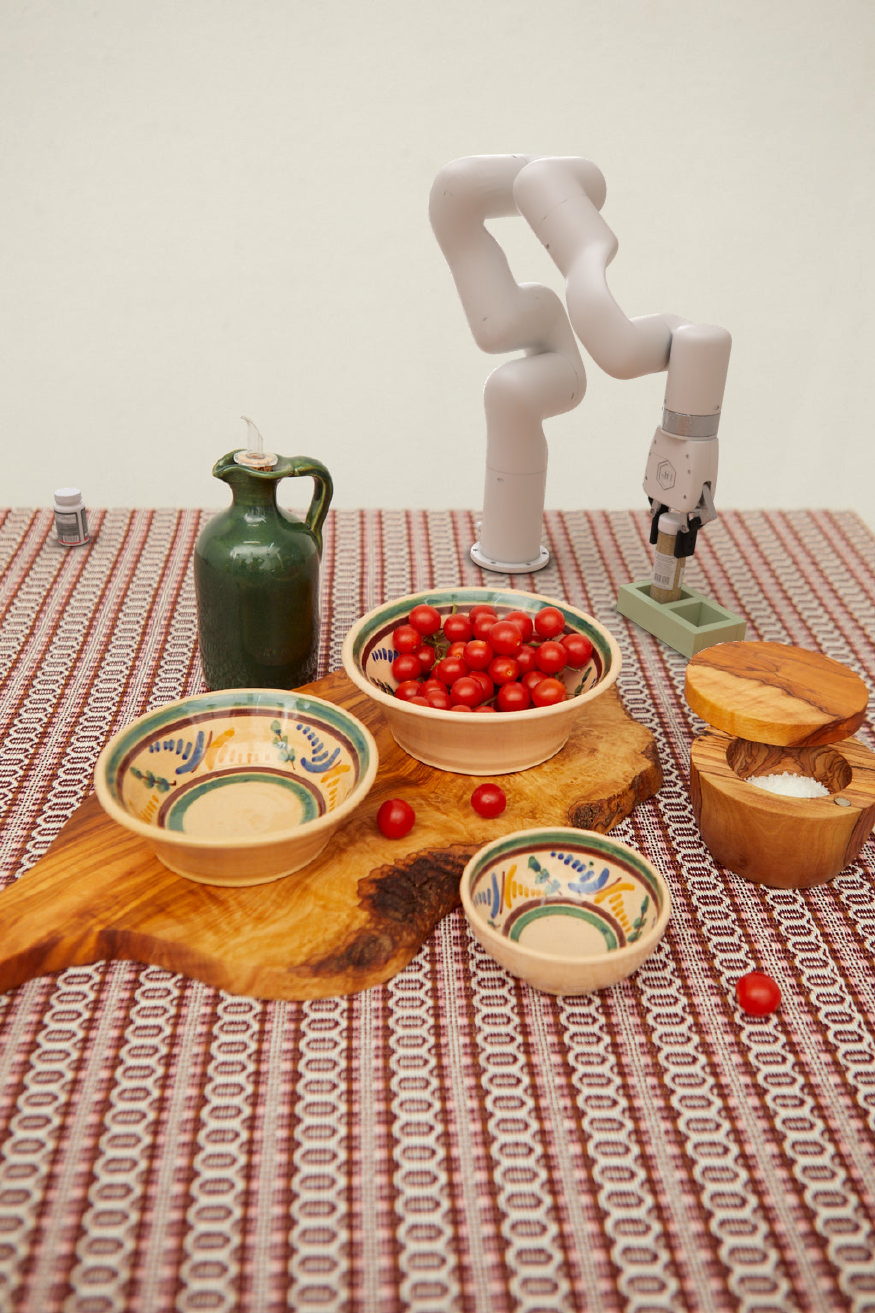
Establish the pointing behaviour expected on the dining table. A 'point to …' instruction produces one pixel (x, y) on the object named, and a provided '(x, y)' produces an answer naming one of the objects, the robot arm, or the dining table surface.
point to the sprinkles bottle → (667, 561)
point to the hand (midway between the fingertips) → (671, 548)
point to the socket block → (680, 618)
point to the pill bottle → (70, 517)
